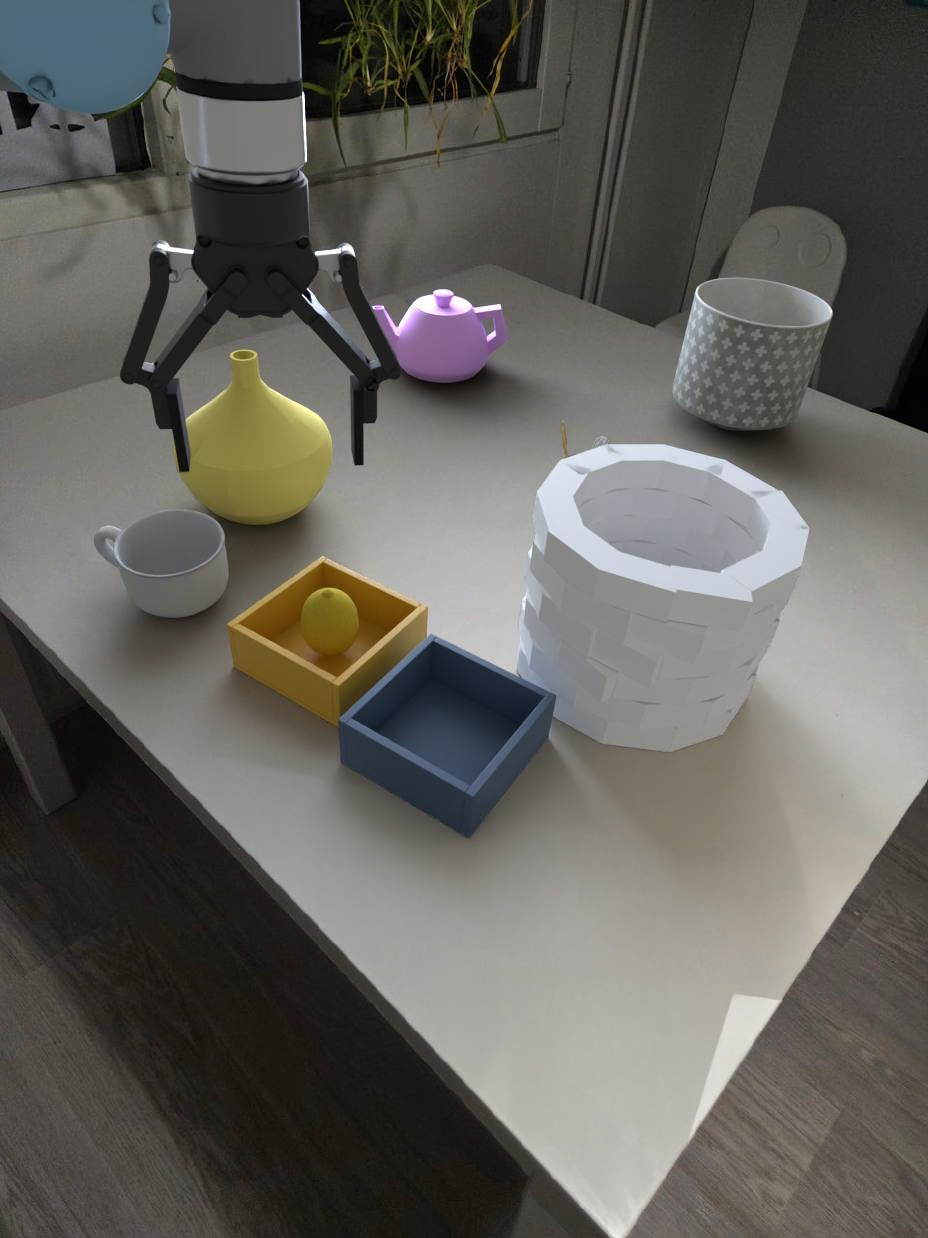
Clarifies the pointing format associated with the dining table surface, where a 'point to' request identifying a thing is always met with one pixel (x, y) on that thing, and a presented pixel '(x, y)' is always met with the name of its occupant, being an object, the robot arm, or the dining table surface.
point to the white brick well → (654, 591)
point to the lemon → (329, 621)
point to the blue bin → (446, 732)
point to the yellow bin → (313, 680)
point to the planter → (749, 352)
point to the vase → (255, 450)
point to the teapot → (443, 337)
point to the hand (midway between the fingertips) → (273, 460)
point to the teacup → (169, 561)
